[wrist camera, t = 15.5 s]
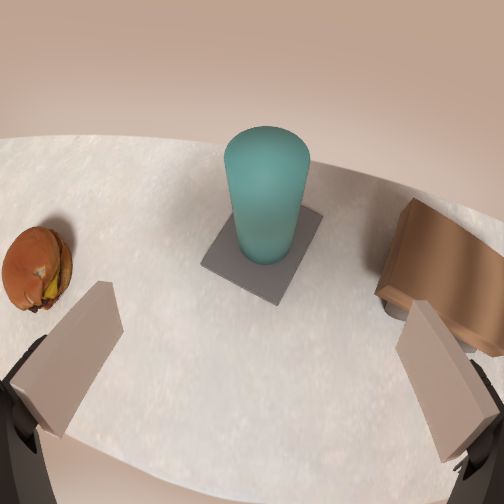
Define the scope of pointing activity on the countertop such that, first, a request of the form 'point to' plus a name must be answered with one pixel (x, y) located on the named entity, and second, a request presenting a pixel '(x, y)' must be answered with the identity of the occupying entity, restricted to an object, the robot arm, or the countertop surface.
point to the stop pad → (256, 275)
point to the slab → (446, 278)
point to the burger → (36, 269)
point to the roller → (266, 190)
